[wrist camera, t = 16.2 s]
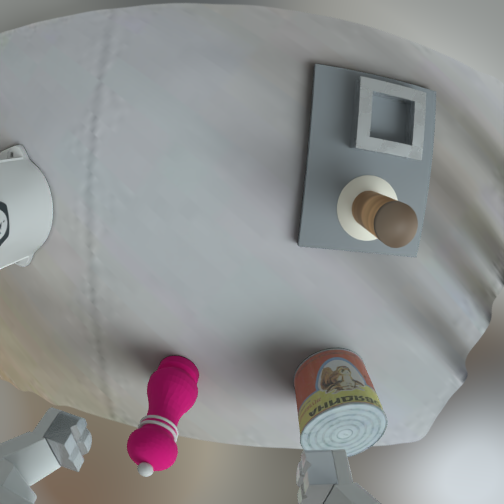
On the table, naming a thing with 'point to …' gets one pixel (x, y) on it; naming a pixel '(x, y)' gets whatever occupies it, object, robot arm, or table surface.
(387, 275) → the table surface
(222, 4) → the table surface
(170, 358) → the pepper mill
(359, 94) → the collar
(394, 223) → the plug
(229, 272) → the table surface
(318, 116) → the base plate
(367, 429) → the canned food
